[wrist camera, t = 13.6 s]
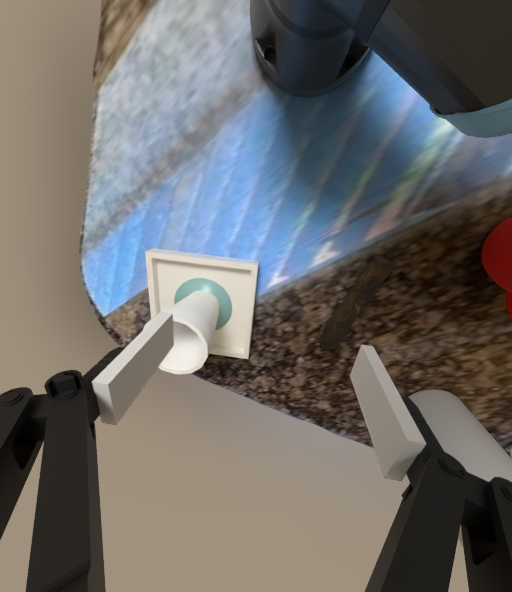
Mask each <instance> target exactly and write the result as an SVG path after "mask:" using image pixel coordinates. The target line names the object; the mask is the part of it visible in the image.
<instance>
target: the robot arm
mask: <svg viewBox="0 0 512 592" xmlns="http://www.w3.org/2000/svg"><path fill="white" fill-rule="evenodd" d="M250 23H251V30H252V36H253V42H254V46H255V50H256V53H257V56H258V59H259V61H260V64H261V66H262V67H263V69H264V71H265V73H266V74H267V75H268V77H269V78H270V79H271V80H272V81H273V82H274V83H275V84H276V85H277V86H278V87H279V88H281V89H282V90H284V91H286V92H288V93H290V94H293V95H297V96H302V97H312V96H318V95H322V94H325V93H327V92H329V91H331V90H333V89H335V88H337V87H338V86H340V85H341V84H342V83H344V82H345V81H346V80H347V79H348V78H349V77H350V76H351V75H352V74H353V73H354V72H355V70H356V69H357V68H358V67H359V65H360V64H361V62H362V61H363V59H364V58H365V56H366V54H367V53H368V51H369V49H370V48H371V49H372V50H373V51H374V52H375V53H376V54H377V55H378V56H379V57H381V58H382V59H383V60H384V61H385V62H386V63H387V64H388V65H389V66H390V67H391V68H392V69H393V70H394V71H395V72H396V73H397V74H398V75H399V76H401V77H402V78H403V79H404V80H405V81H406V82H407V83H408V84H409V85H410V86H411V87H412V88H413V89H414V90H415V91H416V92H417V93H418V94H419V95H420V96H422V97H423V98H424V99H425V100H426V101H427V102H428V103H429V104H430V110H431V111H432V112H433V113H434V114H435V115H436V116H438V117H441V118H443V119H446V120H447V121H449V122H450V123H451V124H452V125H453V126H455V127H456V128H457V129H458V130H459V131H461V132H462V133H463V134H466V135H468V136H475V137H482V138H489V137H497V136H502V135H506V134H510V133H512V0H250ZM173 346H174V334H173V313H167V312H161V313H160V314H159V315H158V316H157V317H156V318H155V319H154V320H153V321H152V322H151V323H150V324H149V325H148V326H147V327H146V328H145V329H144V330H143V331H142V332H141V333H140V334H139V335H138V336H137V337H136V338H135V339H134V340H133V341H132V342H131V343H130V344H129V345H128V346H127V347H126V348H122V347H118V348H116V349H114V350H112V351H110V352H109V353H108V354H107V355H106V356H105V357H104V358H103V359H102V360H100V361H99V362H98V363H97V365H95V366H94V367H93V368H92V369H90V370H89V372H87V373H86V374H85V375H84V376H83V377H82V375H81V372H79V371H77V370H68V371H63V372H60V373H57V374H56V375H54V376H52V377H51V378H50V379H48V380H47V381H46V383H45V385H44V386H45V389H46V392H47V394H42V395H33V393H32V391H31V389H29V388H26V387H25V388H24V387H23V388H16V389H12V390H9V391H7V392H5V393H3V394H1V395H0V539H1V537H2V535H3V533H4V530H5V528H6V526H7V523H8V521H9V519H10V517H11V514H12V512H13V510H14V507H15V505H16V502H17V501H18V498H19V496H20V494H21V491H22V489H23V487H24V485H25V482H26V480H27V478H28V475H29V473H30V471H31V469H32V466H33V464H34V462H35V459H36V457H37V455H38V453H39V450H40V448H41V445H42V443H43V441H44V446H43V455H42V463H41V471H40V479H39V487H38V495H37V503H36V512H35V520H34V528H33V536H32V545H31V552H30V561H29V569H28V578H27V585H26V592H106V591H105V576H104V560H103V546H102V545H103V544H102V529H101V514H100V513H101V512H100V496H99V482H98V465H97V449H96V433H95V424H94V421H95V420H96V419H97V417H98V416H99V415H100V417H101V421H102V423H107V424H112V425H117V424H118V422H119V421H120V419H121V418H122V417H123V415H124V414H125V412H126V411H127V410H128V408H129V407H130V406H131V404H132V403H133V401H134V400H135V399H136V397H137V396H138V395H139V393H140V392H141V390H142V389H143V388H144V386H145V385H146V383H147V382H148V381H149V379H150V378H151V376H152V375H153V374H154V372H155V371H156V369H157V368H158V367H159V365H160V364H161V362H162V361H163V360H164V358H165V357H166V356H167V354H168V353H169V351H170V350H171V349H172V347H173ZM350 378H351V381H352V384H353V386H354V389H355V392H356V395H357V398H358V401H359V404H360V407H361V410H362V413H363V416H364V419H365V422H366V425H367V428H368V431H369V434H370V437H371V440H372V443H373V446H374V449H375V451H376V454H377V457H378V460H379V463H380V466H381V469H382V472H383V475H384V478H388V479H393V480H398V481H402V479H403V478H404V476H405V475H406V474H407V476H408V479H409V481H410V484H409V486H408V487H407V489H406V490H405V492H404V493H403V494H402V497H403V500H402V502H401V505H400V507H399V509H398V512H397V514H396V517H395V519H394V522H393V524H392V526H391V529H390V531H389V534H388V536H387V539H386V541H385V543H384V546H383V548H382V551H381V553H380V556H379V558H378V561H377V563H376V565H375V568H374V570H373V573H372V575H371V577H370V580H369V582H368V585H367V587H366V590H365V592H448V589H449V583H450V578H451V572H452V567H453V562H454V557H455V551H456V545H457V541H458V535H459V530H460V525H461V531H462V539H463V547H464V554H465V562H466V570H467V578H468V585H469V592H512V482H511V481H509V480H507V479H504V478H502V477H494V478H493V479H491V481H490V482H488V481H486V480H484V479H482V478H479V477H477V476H475V475H473V474H471V473H469V472H467V471H466V469H465V468H464V467H463V465H462V464H461V463H460V462H459V461H458V460H457V459H455V458H454V457H453V456H451V455H450V454H448V453H446V452H444V450H443V448H442V447H441V445H440V443H439V442H438V440H437V438H436V437H435V435H434V433H433V432H432V430H431V428H430V427H429V425H428V424H427V422H426V420H425V418H424V417H423V416H422V413H421V412H420V410H419V408H418V407H417V405H416V404H415V403H414V402H413V401H412V400H411V399H410V398H409V397H404V396H400V395H399V393H398V391H397V389H396V387H395V385H394V384H393V382H392V380H391V378H390V376H389V375H388V373H387V371H386V369H385V367H384V365H383V364H382V362H381V360H380V358H379V356H378V354H377V353H376V351H375V349H374V347H373V346H367V345H361V347H360V350H359V353H358V355H357V358H356V361H355V363H354V366H353V369H352V371H351V374H350Z"/></svg>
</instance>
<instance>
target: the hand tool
mask: <svg viewBox="0 0 512 592" xmlns="http://www.w3.org/2000/svg"><path fill="white" fill-rule="evenodd" d="M397 268H398V267H397V266H396V265H395V264H394V263H393V262H391V261H390V260H388V259H386V258H385V257H383V256H381V255H376V254H372V260H371V261H370V262H368V263H367V267H366V269H365V270H364V272H363V273H362V274H361V275H360V277H359V278H358V280H357V282H356V284H355V285H354V287H353V288H352V289H351V290H350V291H349V293H348V295H347V296H346V298H345V299H344V301H343V302H342V304H341V305H340V307H339V308H338V310H337V311H336V312H335V314H334V315H333V316H332V317H330V318H329V320H328V322H327V324H326V326H325V328H324V331H323V333H322V336H321V340H320V345H321V348H322V349H324V350H334V348H335V347H336V346H337V345H338V344H339V343H340V342H341V341H342V340H343V339H344V338H345V337H346V335H347V334H348V332H347V330H348V328H349V327H350V326H351V324H352V322H353V321H354V319H355V318H356V317H357V316H358V315H359V313H360V312H361V311H362V310H363V308H364V307H365V306H366V304H367V303H368V302H369V301H370V299H371V298H372V296H373V295H374V294H375V293H376V291H377V290H378V289H379V287H380V286H381V284H382V283H383V282H384V280H385V279H386V277H387V276H388V275H389V274H390V273H391V272H392V271H393V270H395V269H397Z"/></svg>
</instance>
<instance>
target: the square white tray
mask: <svg viewBox="0 0 512 592" xmlns="http://www.w3.org/2000/svg"><path fill="white" fill-rule="evenodd" d="M145 254H146V265H147V276H148V287H149V299H150V310H151V319H152V318H153V317H154V316H156V315H157V314H159V313H160V312H162V311H163V310H165V309H169V308H170V307H172V306H173V305H175V304H176V303H178V302H179V301H181V300H182V299H184V298H185V297H187V296H189V295H190V294H192V293H193V292H195V291H201V290H204V291H207V292H210V293H211V294H212V295H214V296H215V297H216V298H217V300H218V302H219V315H218V320H217V324H216V328H215V332H214V336H213V340H212V349H211V351H210V353H209V354H216V355H223V356H229V357H236V358H243V359H248V357H249V352H250V343H251V334H252V325H253V315H254V306H255V296H256V287H257V277H258V268H259V261H252V260H244V259H236V258H228V257H220V256H211V255H203V254H195V253H187V252H179V251H170V250H162V249H154V248H152V249H150V250H147V251H145Z"/></svg>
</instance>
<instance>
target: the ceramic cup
mask: <svg viewBox="0 0 512 592" xmlns="http://www.w3.org/2000/svg"><path fill="white" fill-rule="evenodd" d="M482 263H483V266H484V269H485V270H486V272H487V274H488V275H489V277H490V278H491V279H492V280H493V281H494V282H495V283H496V284H498V285H499V286H500V287H501V288H503V289H504V290H506V291H507V295H506V306H507V311H508V314H509V316H510V318H511V319H512V216H511V217H509V218H507V219H506V220H504V221H503V222H501V223H500V224H499V225H498V226H497V227H495V228H494V229H493V230H492V231H491V232H490V234H489V235H488V236H487V238H486V239H485V241H484V243H483V248H482Z"/></svg>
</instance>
